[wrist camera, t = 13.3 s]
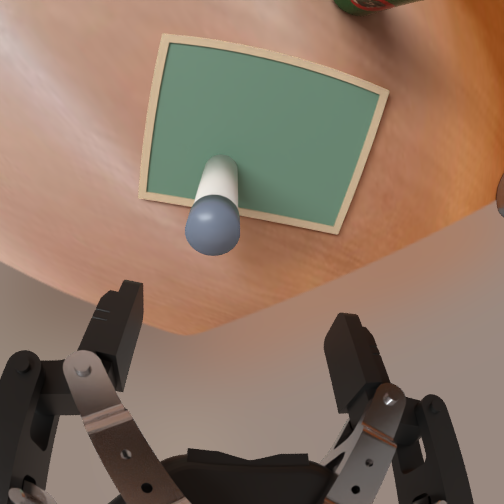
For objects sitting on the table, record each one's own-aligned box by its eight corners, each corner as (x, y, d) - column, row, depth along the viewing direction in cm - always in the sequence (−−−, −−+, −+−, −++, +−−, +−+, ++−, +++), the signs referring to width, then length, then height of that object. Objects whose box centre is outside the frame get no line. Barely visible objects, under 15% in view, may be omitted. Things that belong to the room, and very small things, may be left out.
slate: (385, 89, 26) (389, 90, 25) (335, 230, 34) (337, 234, 33) (164, 34, 22) (162, 33, 21) (140, 194, 31) (137, 198, 30)
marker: (242, 157, 28) (245, 213, 18) (234, 189, 30) (234, 259, 20) (206, 150, 28) (189, 203, 18) (200, 183, 30) (182, 250, 20)
